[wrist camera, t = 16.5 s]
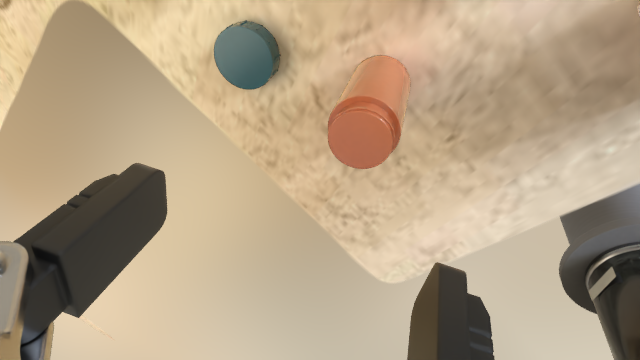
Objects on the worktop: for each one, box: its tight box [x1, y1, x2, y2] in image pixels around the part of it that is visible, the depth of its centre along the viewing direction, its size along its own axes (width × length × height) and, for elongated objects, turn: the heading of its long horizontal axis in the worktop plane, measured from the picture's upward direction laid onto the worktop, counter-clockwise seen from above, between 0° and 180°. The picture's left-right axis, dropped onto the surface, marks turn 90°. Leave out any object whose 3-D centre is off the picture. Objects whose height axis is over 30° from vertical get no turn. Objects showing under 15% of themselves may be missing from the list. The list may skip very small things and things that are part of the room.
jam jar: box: [328, 56, 411, 169], centre depth 31 cm, size 5×5×11 cm
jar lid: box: [214, 20, 280, 89], centre depth 36 cm, size 6×6×2 cm
